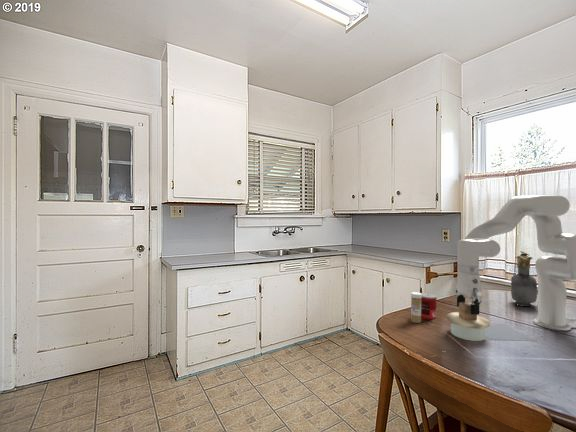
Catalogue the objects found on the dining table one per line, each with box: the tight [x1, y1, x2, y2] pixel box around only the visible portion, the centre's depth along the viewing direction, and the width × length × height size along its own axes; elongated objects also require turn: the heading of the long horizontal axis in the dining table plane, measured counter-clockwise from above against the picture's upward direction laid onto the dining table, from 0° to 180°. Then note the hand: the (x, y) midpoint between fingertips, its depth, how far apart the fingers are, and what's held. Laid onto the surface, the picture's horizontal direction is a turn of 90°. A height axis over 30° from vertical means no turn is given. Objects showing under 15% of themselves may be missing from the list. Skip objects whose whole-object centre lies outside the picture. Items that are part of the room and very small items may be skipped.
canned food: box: [420, 292, 438, 321], centre depth 140 cm, size 8×8×11 cm
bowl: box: [450, 322, 486, 342], centre depth 119 cm, size 12×12×6 cm
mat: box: [485, 322, 537, 342], centre depth 122 cm, size 18×18×1 cm
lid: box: [446, 302, 491, 329], centre depth 119 cm, size 15×15×7 cm
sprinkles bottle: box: [410, 291, 422, 324], centre depth 134 cm, size 5×5×14 cm
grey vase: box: [510, 250, 538, 307], centre depth 161 cm, size 11×19×30 cm, turn 145°
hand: (467, 310), depth 119 cm, fingers open, 9 cm apart
